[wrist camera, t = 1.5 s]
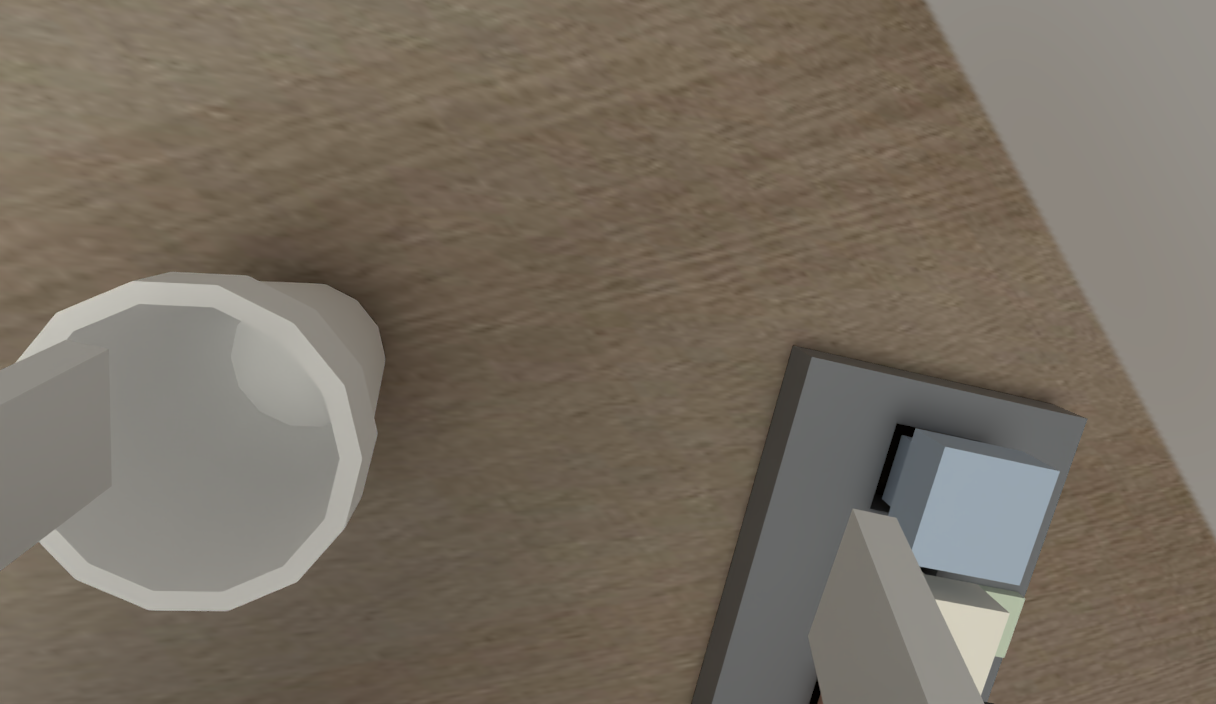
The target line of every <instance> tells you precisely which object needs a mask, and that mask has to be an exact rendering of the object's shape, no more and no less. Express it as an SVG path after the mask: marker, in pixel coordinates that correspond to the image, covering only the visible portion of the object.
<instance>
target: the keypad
mask: <svg viewBox="0 0 1216 704" xmlns="http://www.w3.org/2000/svg"><path fill="white" fill-rule="evenodd" d="M1086 421H1087V418H1084V417H1082V416H1079V415H1077V414H1075V413H1072V412H1070V411H1067V410H1065V409H1063V408H1060V407H1058V406H1056V405H1053V404H1050V403H1045V402H1041V401H1036V400H1032V399H1028V398H1023V397H1019V396H1014V395H1010V394H1006V393H1001V392H997V391H992V390H988V389H983V388H979V387H975V386H970V385H966V384H961V383H957V382H952V381H948V380H944V379H939V378H935V377H930V376H926V375H922V374H917V373H913V372H908V371H904V370H899V369H895V368H891V367H886V366H882V365H877V364H873V363H868V362H864V361H860V360H855V359H851V358H846V357H842V356H838V355H833V354H829V353H824V352H820V351H815V350H811V349H807V348H802V347H798V346H793V348H792V351H791V355H790V358H789V362H788V365H787V369H786V372H785V376H784V379H783V383H782V386H781V390H780V393H779V397H778V400H777V404H776V407H775V411H774V415H773V418H772V422H771V425H770V429H769V432H768V436H767V439H766V443H765V446H764V450H763V453H762V457H761V460H760V464H759V467H758V471H757V474H756V478H755V481H754V485H753V489H752V492H751V496H750V499H749V503H748V506H747V510H746V513H745V517H744V520H743V524H742V527H741V531H740V534H739V538H738V541H737V545H736V548H735V552H734V555H733V559H732V563H731V566H730V570H729V573H728V577H727V580H726V584H725V587H724V591H723V594H722V598H721V601H720V605H719V608H718V612H717V615H716V619H715V622H714V626H713V629H712V633H711V637H710V640H709V644H708V647H707V651H706V654H705V658H704V661H703V665H702V668H701V672H700V675H699V679H698V682H697V686H696V689H695V693H694V696H693V700H692V703H691V704H809V703H810V699H811V696H812V693H813V690H814V687H815V683H816V680H817V674H816V669H815V665H814V661H813V656H812V652H811V647H810V643H809V638H808V635H809V632H810V629H811V626H812V623H813V621H814V618H815V615H816V612H817V609H818V606H819V603H820V600H821V598H822V595H823V592H824V589H825V586H826V583H827V580H828V578H829V575H830V572H831V569H832V566H833V563H834V560H835V558H836V555H837V552H838V549H839V546H840V543H841V540H842V538H843V535H844V532H845V529H846V526H847V523H848V520H849V518H850V515H851V512H852V509H858V510H862V511H867V512H872V513H876V514H881V515H886V516H888V513H889V510H890V506H889V505H888V504H887V503H886V502H885V501H884V500H882V497H883V495H878V494H875V491H876V488H877V485H878V481H879V478H880V475H881V472H882V469H883V465H884V462H885V459H886V456H887V453H888V449H889V446H890V443H891V440H892V437H893V433H894V430H895V427H896V424H897V423H898V424H903V425H907V426H912V427H917V428H921V429H926V430H930V431H935V432H940V433H944V434H949V435H950V436H954V437H959V438H964V439H968V440H973V441H978V442H982V443H987V444H991V445H996V446H1001V447H1005V448H1010V449H1015V450H1019V451H1023V452H1025V453H1027V454H1029V455H1031V456H1033V457H1034V458H1036V459H1038V460H1040V461H1042V462H1044V463H1045V464H1047V465H1049V466H1051V467H1053V468H1055V469H1057V470H1058V471H1060V473H1059V475H1058V478H1057V481H1056V484H1055V487H1054V490H1053V492H1052V495H1051V498H1050V501H1049V504H1048V507H1047V509H1046V512H1045V515H1044V518H1043V521H1042V524H1041V526H1040V529H1039V532H1038V535H1037V538H1036V541H1035V544H1034V546H1033V549H1032V552H1031V555H1030V558H1029V561H1028V563H1027V566H1026V569H1025V572H1024V575H1023V578H1022V580H1021V583H1020V586H1019V585H1014V584H1009V583H1004V582H998V581H993V580H988V579H983V578H977V577H972V576H967V575H962V574H956V573H951V572H946V571H941V570H936V569H930V568H925V567H920V566H919V567H920V569H921V571H922V572H923V573H925V574H926V575H931V576H937V577H942V578H947V579H952V580H958V581H963V582H968V583H973V584H978V585H979V586H980V587H981V588H982V589H983V590H984V591H986V592H987V593H988V594H989V595H990V596H991V597H992V598H993V599H994V600H996V601H997V602H998V603H999V604H1000V605H1001V606H1002V607H1003V608H1005V609H1006V610H1007V611H1008V612H1009V613H1010V614H1009V617H1008V620H1007V623H1006V626H1005V629H1004V631H1003V634H1002V637H1001V640H1000V643H999V646H998V649H997V651H996V654H995V657H994V660H993V663H992V666H991V668H990V671H989V674H988V677H987V680H986V683H985V685H984V688H983V691H982V694H981V697H982V700H983V702H987V701H988V698H989V695H990V692H991V689H992V687H993V684H994V681H995V678H996V675H997V672H998V670H999V667H1000V664H1001V661H1002V658H1004V657H1005V655H1006V652H1007V649H1008V646H1009V643H1010V640H1011V638H1012V635H1013V632H1014V629H1015V626H1016V624H1017V621H1018V618H1019V615H1020V612H1021V609H1022V607H1023V604H1024V601H1025V598H1024V596H1025V593H1026V591H1027V588H1028V585H1029V582H1030V579H1031V577H1032V574H1033V571H1034V568H1035V565H1036V562H1037V560H1038V557H1039V554H1040V551H1041V548H1042V545H1043V543H1044V540H1045V537H1046V534H1047V531H1048V529H1049V526H1050V523H1051V520H1052V517H1053V514H1054V512H1055V509H1056V506H1057V503H1058V500H1059V498H1060V495H1061V492H1062V489H1063V486H1064V483H1065V481H1066V478H1067V475H1068V472H1069V469H1070V466H1071V464H1072V461H1073V458H1074V455H1075V452H1076V450H1077V447H1078V444H1079V441H1080V438H1081V435H1082V433H1083V430H1084V427H1085V424H1086Z"/></svg>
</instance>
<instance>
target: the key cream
mask: <svg viewBox="0 0 1216 704" xmlns="http://www.w3.org/2000/svg"><path fill="white" fill-rule="evenodd" d="M922 573H923V572H922ZM923 575H924V577H925V579H926V581H927V583H928V586H929V588H930V590H931V592H932V594H933V596H934V598H935V600H936V602H937V605H938V607H939V609H940V611H941V613H942V615H943V617H944V619H945V621H946V624H947V626H948V628H949V630H950V632H951V634H952V636H953V638H954V640H955V643H956V645H957V647H958V649H959V651H960V653H961V655H962V657H963V659H964V662H965V664H966V666H967V668H968V670H969V672H970V674H971V676H972V678H973V681H974V683H975V685H976V687H977V689H978V691H979V693H980V695H981V694H982V691H983V688H984V685H985V683H986V680H987V677H988V674H989V671H990V668H991V666H992V663H993V660H994V657H995V654H996V651H997V649H998V646H999V643H1000V640H1001V637H1002V634H1003V631H1004V629H1005V626H1006V623H1007V620H1008V617H1009V614H1010V613H1009V612H1008V611H1007V610H1006V609H1005V608H1003V607H1002V606H1001V605H1000V604H999V603H998V602H997V601H996V600H994V599H993V598H992V597H991V596H990V595H989V594H988V593H987V592H986V591H984V590H983V589H982V588H981V587H980V586H979V585H978V584H973V583H968V582H963V581H958V580H952V579H947V578H942V577H937V576H931V575H926V574H925V573H923Z"/></svg>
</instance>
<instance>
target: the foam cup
mask: <svg viewBox="0 0 1216 704" xmlns="http://www.w3.org/2000/svg"><path fill="white" fill-rule="evenodd" d="M64 340H70V341H74V342H79V343H84V344H88V345H93V346H98V347H102V348H107V349H109V377H110V424H111V471H112V486H111V487H110V488H109V489H107V490H106V491H105V492H103V493H102V494H101V495H99V496H98V497H97V498H95V499H94V500H93V501H91V502H90V503H89V504H88V505H86V506H85V507H84V508H82V509H81V510H80V511H78V512H77V513H76V514H74V515H73V516H72V517H70V518H69V519H68V520H67V521H65V522H64V523H63V524H61V525H60V526H59V527H57V528H56V529H55V530H53V531H52V532H51V533H49V534H48V535H47V536H46V537H44V538H43V539H42V540H40V541H39V543H40V544H41V545H42V546H43V547H44V548H45V549H46V550H47V551H48V552H49V553H50V554H51V555H52V556H53V557H54V558H55V559H56V560H57V561H58V562H59V563H60V564H61V565H62V566H63V567H64V568H65V569H66V570H67V571H68V572H69V573H70V574H71V576H72V577H73V578H74V579H76V580H78V581H81V582H83V583H85V584H88V585H90V586H92V587H95V588H97V589H100V590H102V591H104V592H107V593H109V594H111V595H114V596H116V597H119V598H121V599H123V600H126V601H128V602H130V603H133V604H135V605H138V606H140V607H142V608H145V609H147V610H158V611H229V610H232V609H234V608H237V607H239V606H241V605H244V604H246V603H248V602H251V601H253V600H256V599H258V598H260V597H263V596H265V595H267V594H270V593H272V592H275V591H277V590H279V589H282V588H284V587H287V586H289V585H291V584H294V583H296V582H298V580H299V579H300V578H301V577H302V576H303V575H304V574H305V573H306V571H307V570H308V569H309V568H310V567H311V566H312V565H313V564H314V562H315V561H316V560H317V559H318V558H319V557H320V556H321V555H322V553H323V552H324V551H325V550H326V549H327V548H328V547H329V546H330V544H331V543H332V542H333V541H334V540H335V539H336V538H337V537H338V535H339V534H340V533H341V532H342V531H343V530H344V529H345V527H346V525H347V523H348V522H349V520H350V518H351V516H352V514H353V512H354V510H355V509H356V507H357V505H358V503H359V501H360V499H361V498H362V494H363V490H364V486H365V482H366V478H367V474H368V470H369V466H370V462H371V458H372V454H373V450H374V446H375V443H376V439H377V435H378V432H377V428H376V424H375V420H374V416H375V411H376V406H377V401H378V396H379V391H380V386H381V381H382V376H383V371H384V366H385V354H384V350H383V345H382V341H381V337H380V332H379V328H378V326H377V325H376V323H375V322H374V321H373V320H372V318H371V317H370V316H369V315H368V313H367V312H366V311H365V310H364V308H363V307H362V306H361V305H360V303H359V302H358V301H357V300H356V299H354V298H352V297H350V296H348V295H346V294H344V293H342V292H340V291H338V290H336V289H334V288H332V287H330V286H328V285H326V284H315V283H295V282H268V281H258V280H256V279H254V278H252V277H250V276H247V275H227V274H207V273H187V272H168V273H164V274H160V275H156V276H151V277H147V278H143V279H139V280H135V281H131V282H129V283H127V284H124V285H122V286H119V287H117V288H115V289H112V290H110V291H107V292H105V293H103V294H100V295H98V296H95V297H93V298H91V299H88V300H86V301H83V302H81V303H79V304H76V305H74V306H71V307H69V308H67V309H64V310H62V311H59V312H57V313H56V314H55V315H54V316H53V318H52V319H51V320H50V321H49V322H48V324H47V325H46V326H45V327H44V329H43V330H42V331H41V332H40V333H39V335H38V336H37V337H36V338H35V340H34V341H33V342H32V343H31V344H30V346H29V347H28V348H27V349H26V351H25V352H24V353H23V354H22V355H21V357H20V358H19V359H18V360H17V362H19V361H21V360H23V359H25V358H28V357H30V356H32V355H34V354H36V353H38V352H40V351H43V350H45V349H47V348H49V347H51V346H53V345H55V344H58V343H60V342H62V341H64ZM17 362H16V363H17Z"/></svg>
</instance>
